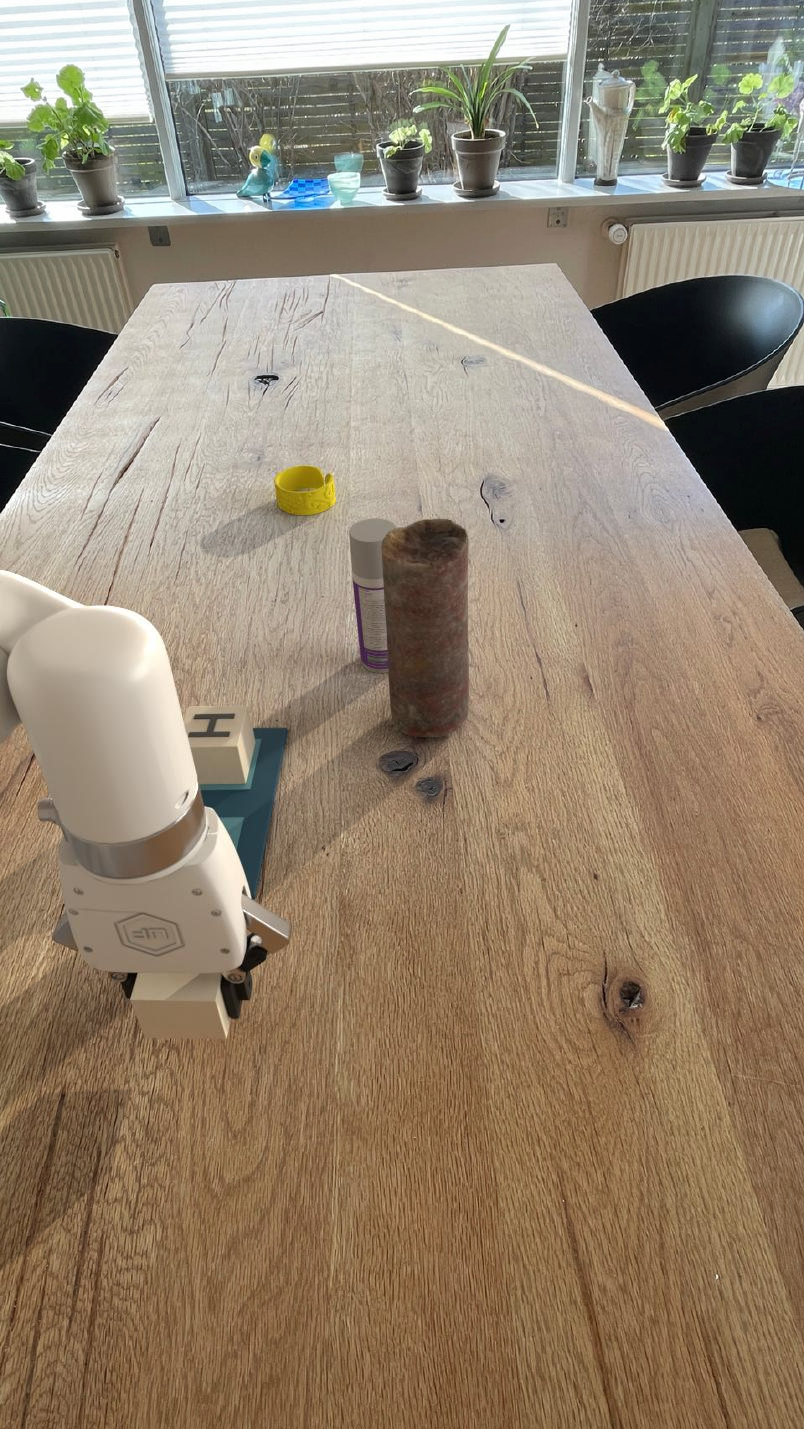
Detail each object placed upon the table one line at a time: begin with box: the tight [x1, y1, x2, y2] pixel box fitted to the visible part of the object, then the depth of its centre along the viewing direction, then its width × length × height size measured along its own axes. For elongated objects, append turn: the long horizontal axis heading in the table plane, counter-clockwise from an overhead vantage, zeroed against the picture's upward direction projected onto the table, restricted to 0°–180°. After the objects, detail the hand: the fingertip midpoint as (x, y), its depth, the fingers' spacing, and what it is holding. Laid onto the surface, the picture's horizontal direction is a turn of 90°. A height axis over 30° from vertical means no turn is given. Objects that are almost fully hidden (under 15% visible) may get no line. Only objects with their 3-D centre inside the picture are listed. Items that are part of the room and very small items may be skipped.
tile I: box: [129, 973, 232, 1040], centre depth 63 cm, size 6×6×5 cm
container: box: [348, 517, 397, 674], centre depth 93 cm, size 5×5×15 cm
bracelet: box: [273, 464, 337, 516], centre depth 124 cm, size 7×8×3 cm
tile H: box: [183, 704, 255, 784], centre depth 84 cm, size 6×6×5 cm
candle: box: [381, 518, 470, 738], centre depth 83 cm, size 8×7×20 cm
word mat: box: [199, 727, 288, 900], centre depth 82 cm, size 11×20×1 cm, turn 178°
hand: (192, 997), depth 64 cm, fingers closed on tile I, 5 cm apart
